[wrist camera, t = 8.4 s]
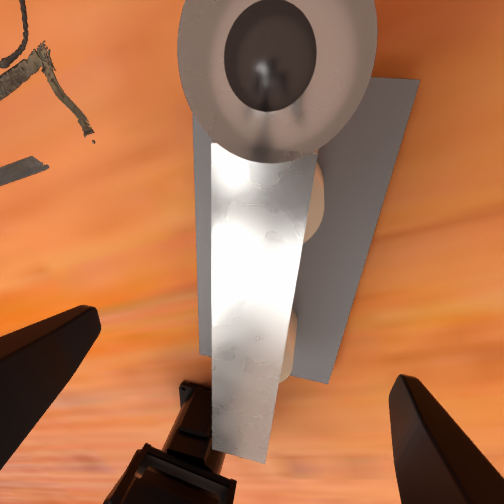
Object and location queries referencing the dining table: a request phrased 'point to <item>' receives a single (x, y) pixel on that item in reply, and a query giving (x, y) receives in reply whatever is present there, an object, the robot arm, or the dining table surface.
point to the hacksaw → (13, 79)
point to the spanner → (265, 174)
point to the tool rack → (322, 226)
